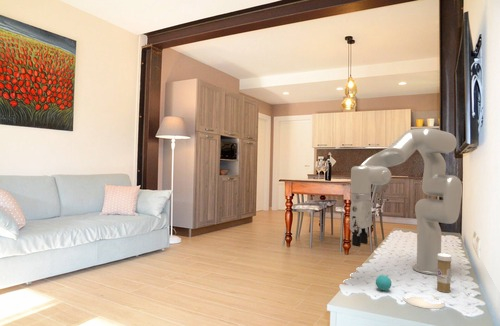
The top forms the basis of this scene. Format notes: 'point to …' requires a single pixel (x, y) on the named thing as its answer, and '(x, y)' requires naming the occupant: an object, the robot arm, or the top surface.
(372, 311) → the top surface
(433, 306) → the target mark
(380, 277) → the ball
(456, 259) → the top surface
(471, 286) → the top surface
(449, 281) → the sprinkles bottle
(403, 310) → the top surface
